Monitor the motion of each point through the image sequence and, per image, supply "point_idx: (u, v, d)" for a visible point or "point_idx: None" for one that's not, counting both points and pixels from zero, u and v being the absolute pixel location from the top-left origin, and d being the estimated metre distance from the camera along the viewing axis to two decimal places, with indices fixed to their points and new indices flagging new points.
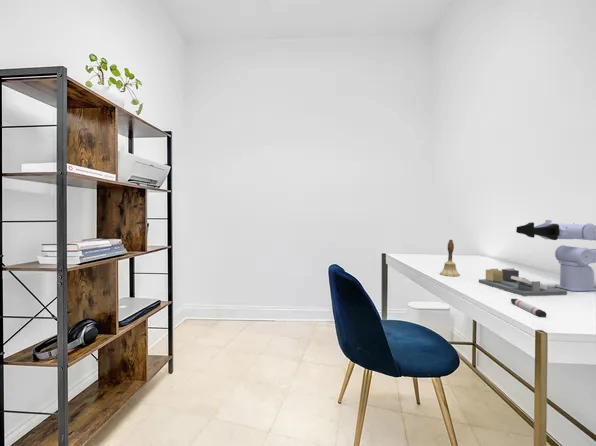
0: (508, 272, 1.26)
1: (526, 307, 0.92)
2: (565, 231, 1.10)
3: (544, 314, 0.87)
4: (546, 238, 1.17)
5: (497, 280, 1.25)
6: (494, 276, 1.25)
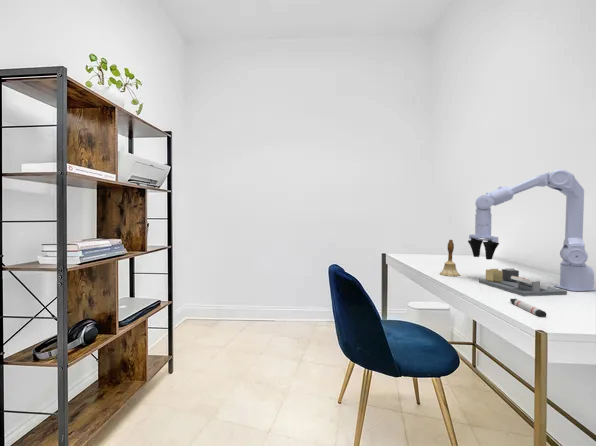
0: (508, 272, 1.26)
1: (526, 307, 0.92)
2: (495, 239, 1.26)
3: (544, 314, 0.87)
4: None
5: (497, 280, 1.25)
6: (494, 276, 1.25)
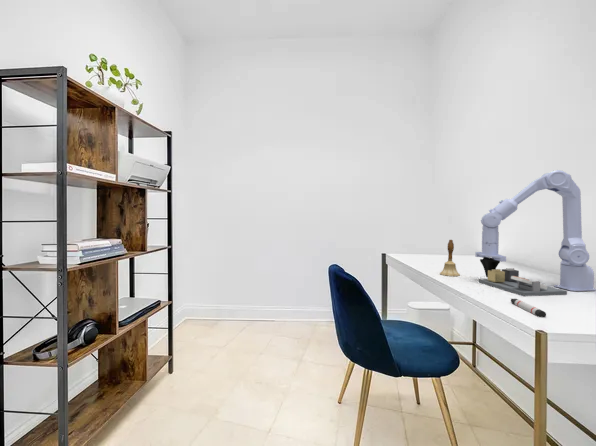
0: (508, 272, 1.26)
1: (526, 307, 0.92)
2: (502, 258, 1.22)
3: (544, 314, 0.87)
4: None
5: (499, 281, 1.24)
6: (496, 277, 1.24)
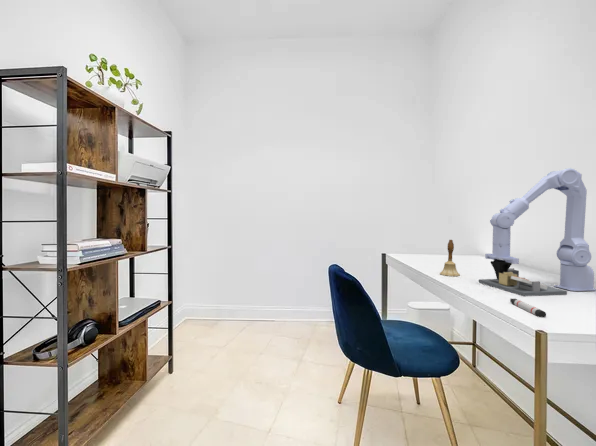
0: None
1: (526, 307, 0.92)
2: (515, 260, 1.16)
3: (544, 314, 0.87)
4: None
5: (511, 284, 1.18)
6: (508, 280, 1.18)
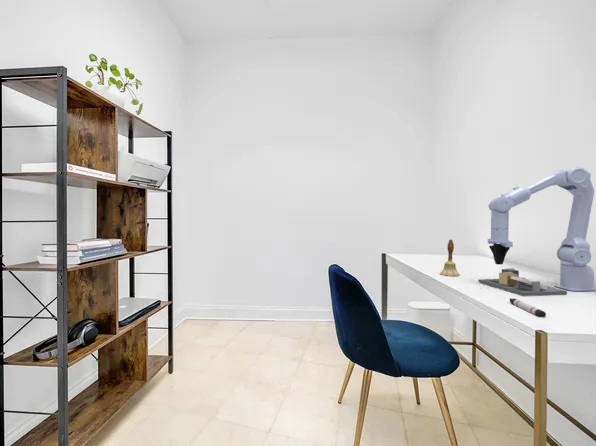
0: None
1: (525, 307, 0.92)
2: (508, 243, 1.16)
3: (543, 314, 0.87)
4: None
5: (511, 284, 1.18)
6: (508, 280, 1.18)
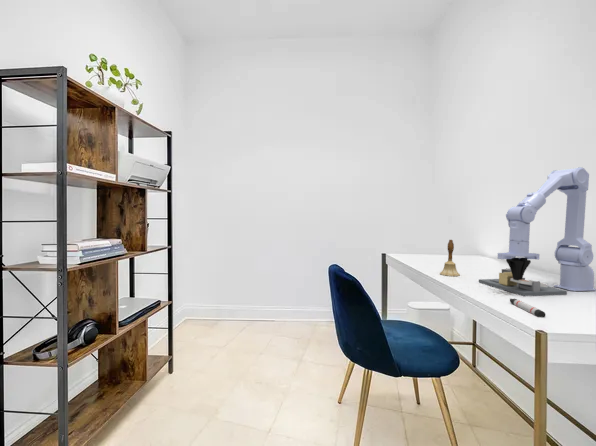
0: None
1: (525, 307, 0.92)
2: (498, 255, 1.12)
3: (543, 314, 0.87)
4: (524, 256, 1.10)
5: (511, 284, 1.18)
6: (508, 280, 1.18)
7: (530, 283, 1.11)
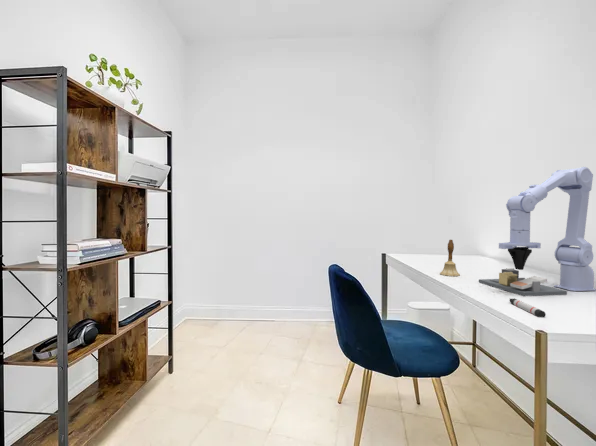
0: None
1: (525, 307, 0.92)
2: (499, 245, 1.12)
3: (543, 314, 0.87)
4: None
5: None
6: (508, 280, 1.18)
7: (530, 285, 1.11)
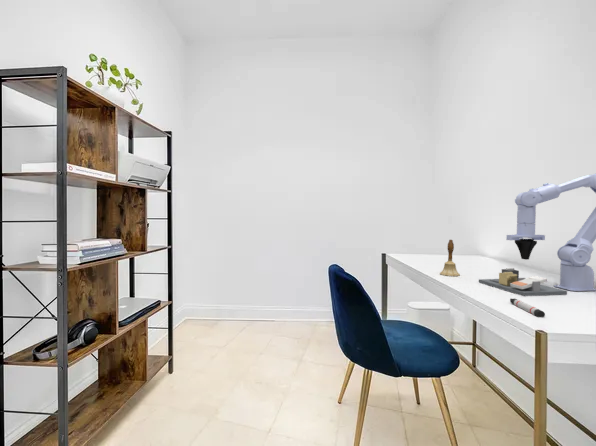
0: None
1: (525, 307, 0.92)
2: (507, 237, 1.22)
3: (542, 314, 0.87)
4: (531, 237, 1.20)
5: None
6: (508, 280, 1.18)
7: (530, 285, 1.11)
